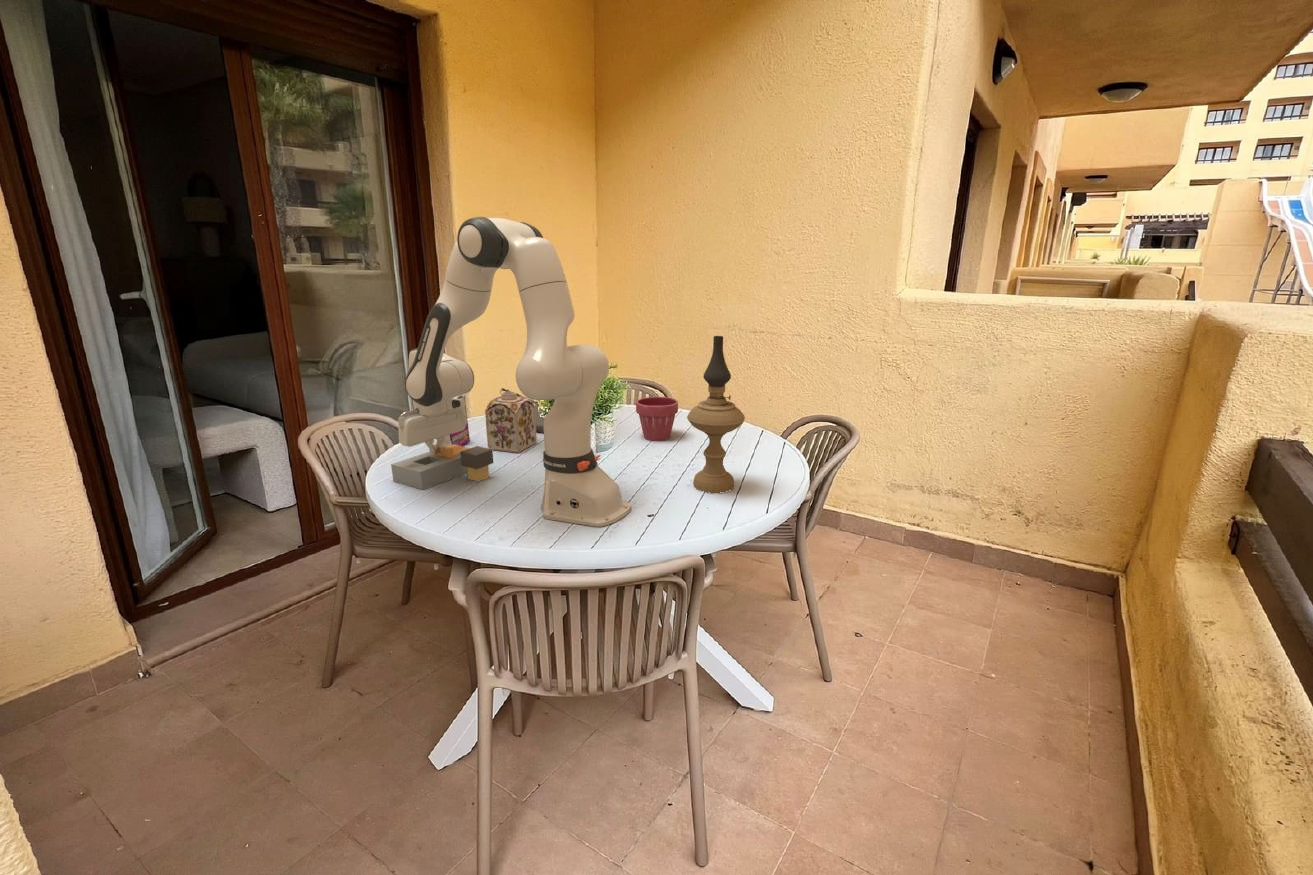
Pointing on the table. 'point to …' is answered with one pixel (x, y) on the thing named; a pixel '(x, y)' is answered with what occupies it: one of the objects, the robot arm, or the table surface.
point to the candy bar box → (461, 436)
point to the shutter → (451, 450)
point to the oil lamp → (715, 423)
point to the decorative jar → (510, 423)
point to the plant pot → (657, 416)
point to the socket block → (427, 470)
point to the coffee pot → (537, 417)
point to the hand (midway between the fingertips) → (436, 453)
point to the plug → (477, 462)
